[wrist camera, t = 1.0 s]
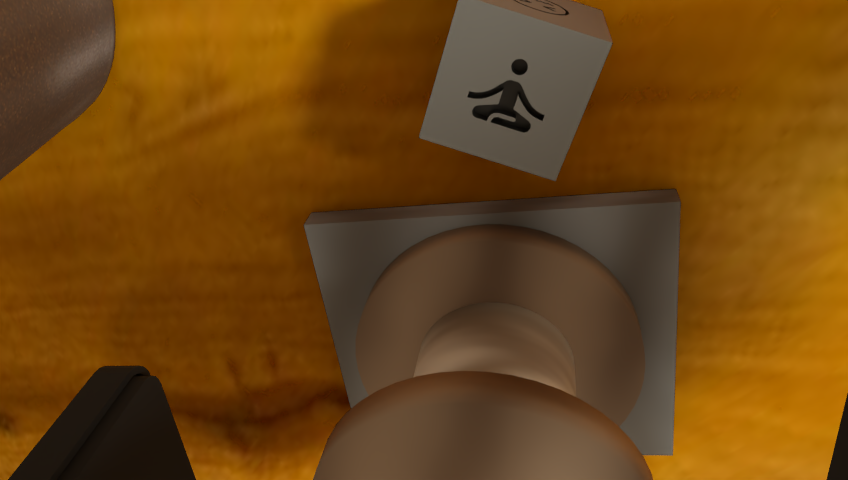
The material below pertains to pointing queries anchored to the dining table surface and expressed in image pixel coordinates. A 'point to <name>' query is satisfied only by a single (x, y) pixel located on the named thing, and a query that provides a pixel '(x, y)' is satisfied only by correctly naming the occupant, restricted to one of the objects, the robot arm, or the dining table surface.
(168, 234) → the dining table surface
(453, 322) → the bobbin
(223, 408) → the dining table surface
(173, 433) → the robot arm
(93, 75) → the plant pot
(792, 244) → the dining table surface
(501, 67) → the dice cube
